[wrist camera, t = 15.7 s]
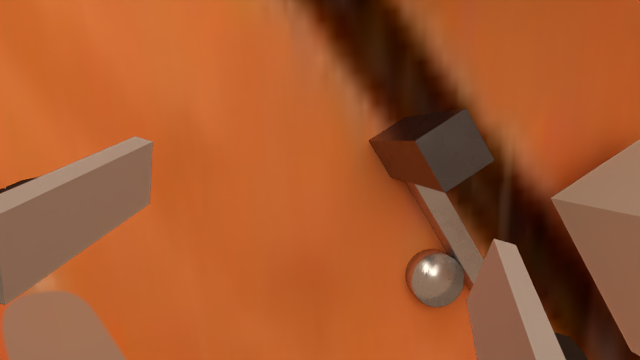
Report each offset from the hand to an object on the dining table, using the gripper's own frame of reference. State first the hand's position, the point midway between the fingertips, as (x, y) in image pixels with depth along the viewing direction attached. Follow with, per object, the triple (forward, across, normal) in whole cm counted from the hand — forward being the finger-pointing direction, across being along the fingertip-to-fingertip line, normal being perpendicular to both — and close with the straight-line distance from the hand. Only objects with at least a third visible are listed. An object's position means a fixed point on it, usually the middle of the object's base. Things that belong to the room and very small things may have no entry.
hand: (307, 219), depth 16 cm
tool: (+24, +8, -9) cm, 27 cm away
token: (+23, +10, -15) cm, 29 cm away
